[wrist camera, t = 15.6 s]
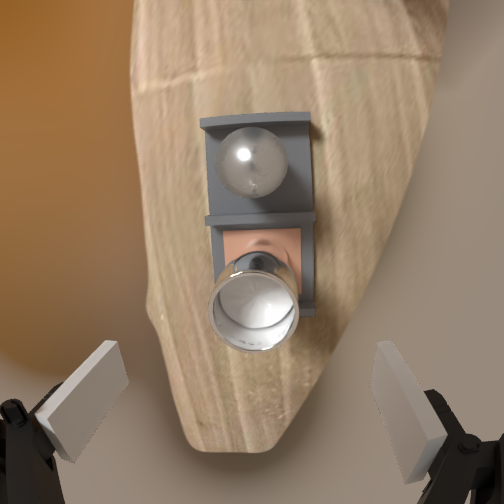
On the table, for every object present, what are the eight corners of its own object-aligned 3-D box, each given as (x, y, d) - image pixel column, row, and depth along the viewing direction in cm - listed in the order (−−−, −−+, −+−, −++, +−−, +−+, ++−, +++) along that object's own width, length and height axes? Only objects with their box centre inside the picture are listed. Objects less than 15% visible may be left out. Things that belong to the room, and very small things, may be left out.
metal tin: (221, 168, 34) (200, 161, 24) (259, 133, 33) (253, 112, 23) (257, 205, 35) (249, 213, 25) (295, 170, 33) (303, 164, 24)
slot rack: (206, 124, 34) (199, 118, 31) (307, 118, 33) (310, 111, 30) (218, 307, 39) (213, 318, 35) (312, 305, 38) (315, 316, 34)
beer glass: (221, 262, 36) (185, 312, 22) (262, 220, 35) (252, 246, 20) (262, 301, 37) (253, 371, 22) (304, 262, 35) (322, 315, 21)
